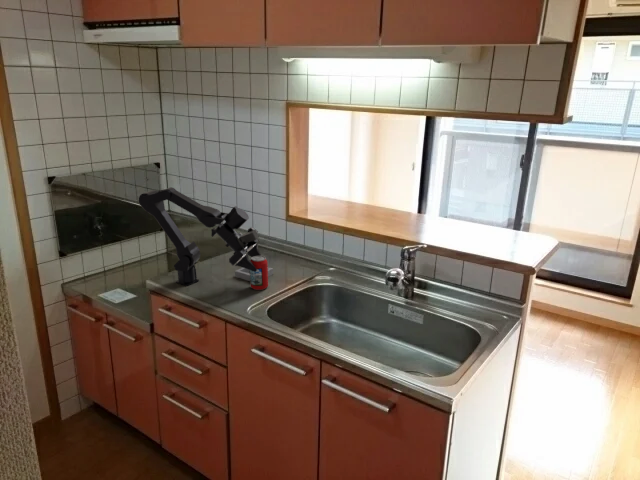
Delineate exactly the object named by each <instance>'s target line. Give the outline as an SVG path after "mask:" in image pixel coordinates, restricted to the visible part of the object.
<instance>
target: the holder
mask: <svg viewBox="0 0 640 480" xmlns="http://www.w3.org/2000/svg"><path fill="white" fill-rule="evenodd" d="M272 275H274V268H272V267H268V278H269V277H271V276H272ZM234 277H235V278H238V279H242V280H245V281H249V282H250V270H249V269H246V268H243V267H240V268H239V269H236V270H235V271H234Z"/></svg>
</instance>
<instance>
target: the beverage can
mask: <svg viewBox="0 0 640 480" xmlns="http://www.w3.org/2000/svg"><path fill="white" fill-rule="evenodd" d="M249 260H250V261H251V262H252V264H253V265H254V266H255V267H256V269H257V271H256V272H254V271H251V270H250V272H249V274H250V281H249V282H250V283H249V284H250V288H252V289H253V290H255V291H263V290H265V289H266V288H268V287H269V277H268V266H269V265H268V263H269V262H268V259H267V258H266V256H265V255H261V256H254V257H251V258H250V259H249Z"/></svg>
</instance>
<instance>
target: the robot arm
mask: <svg viewBox="0 0 640 480" xmlns="http://www.w3.org/2000/svg"><path fill="white" fill-rule="evenodd" d="M164 201H169V202H170V203H173V204H174V205H175V206H178V207H179V208H181V209H183V210H185V212H186V211H187V212H188V213H190V214H191V215H193V216H195V217H196V219H197V220H198V221H199V223H201V224H202V225H204V226H205V227H207V228H209V229H211V228H212V229H211V230H210V231H211V234H210V237H212V238H213V237H215V235H218V236H219V238H220V239H221V240H222V241H223V242H224V243H225V247H226V248H230V249H231V250H232V251H233V252H232V253H233V254H232V255H231V256H230V257H229V259H228V262H229V263H230V264H231V266H235V267H240V268H246V269H249V270H251V271H254V272H256V271H257V269H256V267H255V266H254V265H253V264H252V262H251V261H250V260H251V259H250V258H249V257H251V258H252V257H254V256H262V254H261V252H260V250H259V244H260V243H259V239H258V238H259V234H258V232H259V231H258V230H257V229H255V228H254V227H252V226H251V227H249V228H247V231H246V232H245V233H242V232H239V231H238V232H237V230H239V229H240V228H241V227H242V226H243V225H244V224H245V223H247V221H248V220H249V219H250V217H249V214H248V213H247V212H246V211H245V210H243V209H242V208H239V207H238V206H237V205H235V206H234V207H232V209H231V210H230V211H229V212H223V211H220V209H217V208H215V207H212V206H208V205H203V204H201V203H199V202H197V201H196V200H194V199H193V198H191V197H188V196H187V195H185V194H183V193H182V192H180V191H178V190H177V189H176V188H175V187H171V186H170V187H167V188H164V189H160V190H154V189H151V190H148V191H146V192H143V193H141V194H140V195H139V197H138V204H139V206H140V207H141V208H142V209H143V210H144V211H145V212H147V213H148V214H149V215H151V216H153V217H154V219H155V220H156V221H157V223H158V224H159V226H160V227H161V228H162V230H163V232H164V233H165V234H166V236H167V237H168V239H169V241H170V242H171V243H172V245H173V246H174V247H175V251H176V256H177V258H178V261H177V262H176V263H174V265H173V267H174V269H175V271H177V280H176V281H175V283H177V284H179V285H182V286H185V287H188V286H190V285H192V284H195V283H197V282H199V281H200V280H199V279H198V277H197V269H196V264H197V262H198V261H199V260H200V258H201V252H200V250H201V249H200V248H199V247H198V245H197V244H196V243H195V241H192V242H190V241H188V240H187V239H186V238H185V236H184V234H183V233H182V231H181V230H180V229H179V228H178V226H177V225H176V223H175V222H174V220H173V218H171V215H169V213H168V212H167V210H166V209H165V204H164V203H165V202H164ZM223 222H224V223H223ZM216 225H217V226H216ZM215 226H216V227H215Z"/></svg>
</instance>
